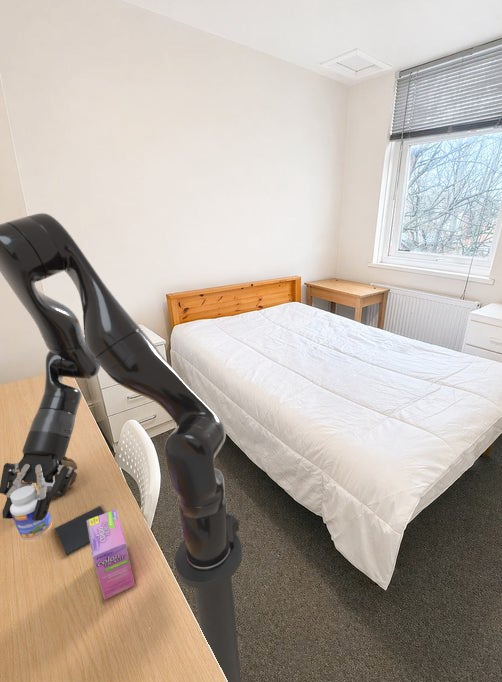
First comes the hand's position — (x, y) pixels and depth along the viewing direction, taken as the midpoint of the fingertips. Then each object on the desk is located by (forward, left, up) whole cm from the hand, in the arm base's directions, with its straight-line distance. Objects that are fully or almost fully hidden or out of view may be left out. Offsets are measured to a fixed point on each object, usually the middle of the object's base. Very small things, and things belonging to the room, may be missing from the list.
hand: (23, 519), depth 68 cm
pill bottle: (-1, -1, -5) cm, 5 cm away
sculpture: (-9, -23, -14) cm, 28 cm away
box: (-11, +12, -14) cm, 21 cm away
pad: (-10, -5, -14) cm, 18 cm away
